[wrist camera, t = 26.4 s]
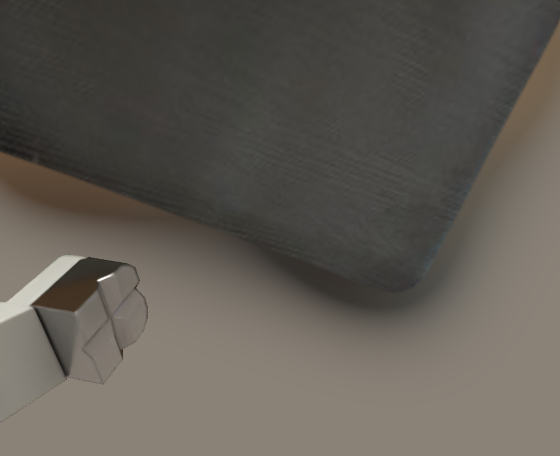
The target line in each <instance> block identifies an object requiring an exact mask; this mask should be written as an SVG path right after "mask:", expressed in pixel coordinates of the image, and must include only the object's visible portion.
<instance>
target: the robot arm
mask: <svg viewBox="0 0 560 456" xmlns="http://www.w3.org/2000/svg"><path fill="white" fill-rule="evenodd" d="M139 281H140V279H139V277H138V274H137V271H136V268H135V267H133V266H131V265H130V264H127V263H121V262H115V261H109V260H103V259H97V258H91V257H88V258H87V257H82V256H76V255H70V254H69V255H64V256H60V257H59V258H58V259H57V260H55V261H54V262H53V263H52V264H51V265H50V266H48V267H47V268H46V269H45V270H44V271H43V272H41V273H40V274H39V275H38V276H37V277H35V278H34V279H33V280H32V281H31V282H30V283H29V284H27V285H26V286H25V287H24V288H22V289H21V290H20V291H19V292H18V293H17V294H15V295H14V296H13V297H12V298H11V299H10V300H8V301H7V302H0V423H1V422H2V421H4V420H5V419H7V418H8V417H10V416H12V415H13V414H15V413H16V412H18V411H19V410H21V409H22V408H24V407H25V406H27V405H28V404H30V403H31V402H33V401H35V400H36V399H38V398H39V397H41V396H42V395H44V394H45V393H47V392H48V391H50V390H51V389H53V388H54V387H56V386H57V385H59V384H60V383H62V382H64V381H65V380H66V379H67V378H66V377H68V378H73V379H79V380H83V381H89V382H94V383H99V384H104V383H105V382H106V380H107V379H108V378H109V376H110V375H111V374H112V373H113V371H114V370H115V369H116V367H117V366H118V365H119V363H120V362H121V361H122V359H123V348H126V347H128V346H129V345H131V344H133V343H135V342H136V341H137V339H138V338H139V337H140V335H141V334H142V332H143V330H144V327H145V324H146V321H147V318H148V317H147V316H148V309H147V308H148V307H147V303H146V300H145V297H144V296H143V295H142V294H141V293H140V292H139V291H138V290H137V289H136V287H137V285H138V283H139Z"/></svg>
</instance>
